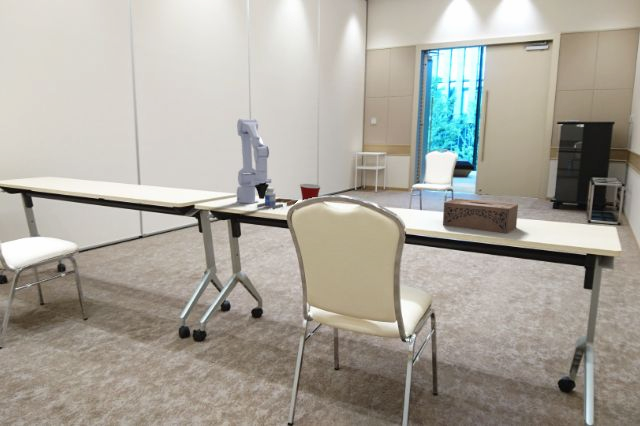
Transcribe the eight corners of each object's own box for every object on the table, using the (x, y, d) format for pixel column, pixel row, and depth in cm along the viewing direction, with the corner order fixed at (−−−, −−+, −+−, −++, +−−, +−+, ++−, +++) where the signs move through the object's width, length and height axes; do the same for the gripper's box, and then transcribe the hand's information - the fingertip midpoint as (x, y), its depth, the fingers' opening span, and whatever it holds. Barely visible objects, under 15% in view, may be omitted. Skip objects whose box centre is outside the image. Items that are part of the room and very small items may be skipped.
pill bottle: (263, 206, 236) (263, 187, 235) (272, 205, 239) (272, 186, 237) (267, 207, 232) (267, 188, 230) (277, 207, 234) (277, 188, 233)
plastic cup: (315, 210, 224) (316, 186, 222) (295, 209, 229) (295, 185, 226) (324, 207, 234) (324, 184, 232) (304, 206, 238) (305, 183, 236)
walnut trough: (268, 203, 245) (268, 200, 245) (279, 201, 254) (279, 198, 254) (288, 205, 239) (288, 202, 239) (298, 203, 248) (298, 199, 248)
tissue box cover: (442, 226, 192) (444, 202, 191) (454, 220, 204) (455, 198, 202) (507, 234, 178) (509, 208, 176) (516, 228, 189) (518, 204, 188)
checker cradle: (257, 206, 234) (257, 204, 234) (266, 204, 241) (266, 202, 241) (274, 208, 229) (274, 205, 229) (283, 206, 236) (283, 203, 236)
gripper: (259, 172, 217) (260, 201, 220) (276, 170, 230) (276, 197, 232) (247, 171, 220) (247, 199, 223) (264, 169, 233) (264, 196, 235)
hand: (261, 198), depth 228 cm, fingers closed
